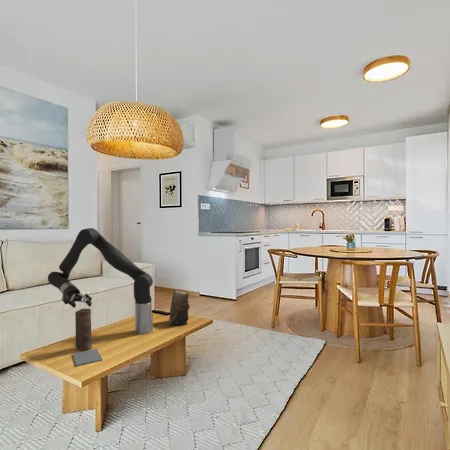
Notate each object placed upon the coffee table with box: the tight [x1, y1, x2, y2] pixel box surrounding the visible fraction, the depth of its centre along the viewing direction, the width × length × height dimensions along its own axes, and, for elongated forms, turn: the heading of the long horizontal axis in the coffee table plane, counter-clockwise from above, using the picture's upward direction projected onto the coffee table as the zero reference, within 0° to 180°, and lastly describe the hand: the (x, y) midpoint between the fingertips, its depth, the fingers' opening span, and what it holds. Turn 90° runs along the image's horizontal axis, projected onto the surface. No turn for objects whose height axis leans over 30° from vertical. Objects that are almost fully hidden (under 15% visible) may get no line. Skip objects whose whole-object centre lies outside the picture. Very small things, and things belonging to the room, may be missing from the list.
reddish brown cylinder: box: [74, 308, 93, 350], centre depth 155 cm, size 8×7×20 cm
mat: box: [72, 348, 103, 367], centre depth 145 cm, size 11×14×1 cm
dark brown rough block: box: [168, 289, 190, 327], centre depth 194 cm, size 13×13×20 cm
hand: (83, 305), depth 163 cm, fingers open, 8 cm apart
